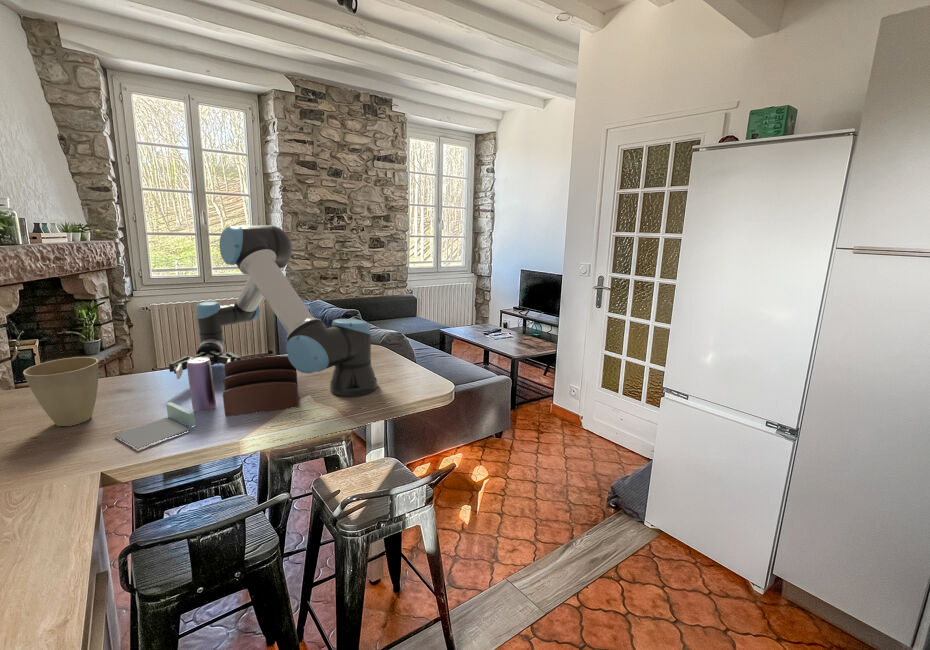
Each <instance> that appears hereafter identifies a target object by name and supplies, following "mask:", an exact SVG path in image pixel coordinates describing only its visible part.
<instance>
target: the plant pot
mask: <svg viewBox="0 0 930 650" xmlns="http://www.w3.org/2000/svg"><path fill="white" fill-rule="evenodd" d="M22 374H23V376H24V379H25V381H26V382H27V385H28V386H29V389H30V391H31V392H32V394H33V396H34V397H35V399H36V401H37V402H38V403H39V405H40V406H41V408H42V409H43V412H45V413H46V415H47V416H48V417H49V419H51V421H52V422H53V423H54V425H56V427H60V426H68V427H72V426H71V425H74V426H76V424H78V425H80V424H79V423H81V424H83V423H82V422H84V423H86V422H88V421H90V420H91V419H92V417H93V414H94V409H95V405H96V400H97V394H98V387H99V359H98V358H96V357H92V356H91V357H90V356H78V357H77V356H76V357H68V358H61V359H60V358H59V359H54V360H49V361H45V362H42V363H38V364H35V365H32V366H29V367H28V368H26V369H24V370H23V372H22ZM90 418H91V419H90ZM89 419H90V420H89ZM87 420H88V421H87ZM85 421H86V422H85Z"/></svg>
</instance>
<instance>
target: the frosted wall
mask: <svg viewBox="0 0 930 650" xmlns="http://www.w3.org/2000/svg"><path fill="white" fill-rule="evenodd" d="M165 405H166V413H167V417H168V418H169V419H171V420H173V421H176V422H179V423H180V422H181V423H180V424H182V423H183V424H182V425H184V424H186V425H188V426H190V427H192V426H194V425H196V420H195V411H192V410H189V409H187V408H184V407H183V406H180V405H178V404H176V403H174V402H171V401H169V402H166V403H165ZM186 425H185V426H186ZM188 426H187V427H188ZM190 427H189V428H190ZM192 428H193V427H192Z"/></svg>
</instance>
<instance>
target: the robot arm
mask: <svg viewBox="0 0 930 650" xmlns="http://www.w3.org/2000/svg"><path fill="white" fill-rule="evenodd" d="M219 252H220V253H219V254H220V256H221V258H222V260H223V262H224V263H226V264H227V265H230V266H234V265H235V266H237V268H238V269H239V271H240V272H241V273H242V275H246V276H249V277H248V279H247V280H246V283H245V284H244V285H243V288H242V290H241V291H240V293H239V295H238V297H237V299H235V300H236V301H235V302H234V303H231V304H224V305H221V304H220V302H217V301H205V302H200V303H197V305H196V309H195V310H196V311H195V312H196V319H197V325H198V333H199V335H198V336H199V343H200V345H199V346H198V348H197V350H196V354H195V355H193V356H190V354H185V355H183V356H182V357H180V358H179V359H177V360H174V361H172V362H170V363H168V367H169V368H168V369H169V372H170V373H173V374H176V375H175V376H176V380H179V379H181V377H182V374H183V372H184V371H185V370H187V361H188V360H189V359H192V358H197V357H208V358H210V361H211V366H214V365H221V364H222V365H225V364H226V363H227V362H231V361H236V360H241V359H242V358H241V356H239V355H237V354H234V353H233V352H232V351H231V350H227V351H226V352H225V353H223V351H224V348H225V344H226V343H225V342H226V341H225V337H224V333H223V327H226V326H230V325H235V324H241V323H247V322H251V321H253V320H257V319H258V318H259V317H260V315H261V314H260V312H261V308H260V303H261V302H262V301H263V298H264V299H265V301H266V302H267V304H268V305H269V306H270V308H271V310H272V311H273V313H274V314H275V315H276V317H277V318H278V320H279V322H280V324H281V325H282V326H283V327H284V329H285V331H286V332H287V335H286V347H285V353H287V354H286V355H287V357H288V359H289V361H290V363H291V364H292V365H293V366H294V367H295V368H296V371H299V372H300V373H303V374H307V375H309V374H313V373H314V374H315V373H319V372H322V371H324V370H327V369H330V368H333V367H334V368H333V371H332V375H331V376H332V378H331V380H330V383H329V388H330V389H329V390H330V393H332V394H333V395H336V396H341V397H358V396H364V395H368V394H370V393H373V392H374V391H376V389H377V388H378V379H377V376H376V375H375V372H374V371H375V370H374V369H373V366H372V352H371V350H372V349H371V348H372V346H371V345H372V344H371V343H372V342H371V341H372V339H371V338H372V337H371V335H372V334H371V333H372V332H371V327H370V324H369V322H367V321H365V320H362V319H356V318H355V319H354V318H337V319H333V320H332V321H331V322H332V323H331V327H327V326H326V325H325V323H324V322H323V321H322V319H320V318H316V317H313V315H312V314H311V312H310V310H309V309H308V307H306V306H307V305H305V303H304V301H302V299H301V297H300V296H299V295H298V293H297V292H296V290H295V289H294V287H293V286H292V284H291V283H290V282H289V280H288V278H287V277H286V276H285V274H284V272H283V270H281V269H283V268H285V267H286V266H287V265H288V263H289V261H290V260H291V256H292V253H293V244H292V241H291V238H290V237H289V235H288V234H287V232H285V230H283V229H282V228H280V227H277V226H275V225H271V224H269V225H268V224H266V225H240V224H237V225H231V226H227V227H225V228H224V229H223V231H222V232H221V234H220V237H219Z"/></svg>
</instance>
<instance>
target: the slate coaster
mask: <svg viewBox="0 0 930 650" xmlns="http://www.w3.org/2000/svg"><path fill="white" fill-rule="evenodd" d="M187 431H190V429H189V427H188V428H187V427H186V426H184V425H183V424H181V423H177V421H176V422H175V420H173V419H170V418H167V417H165V418H161V419H158V420H155V421H152V422H149V423H145V424H143V425H140V426H138V427H135V428H134V427H133V428H131V429H129V430H126V431H125V430H124V431H123V432H120V433H117V434H114V437H115V436H116V437H117V438H119V439H121V440H122V441H124V442H126V443H128V444H130V445H132V446H134V447H135V448H137V449H139V448H141V447H144V446H147V445H149V444H151V443H154V442H157V441H159V440H163V439H165V438H169V437H172V436H175V435H179V434H182V433H184V432H187Z"/></svg>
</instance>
